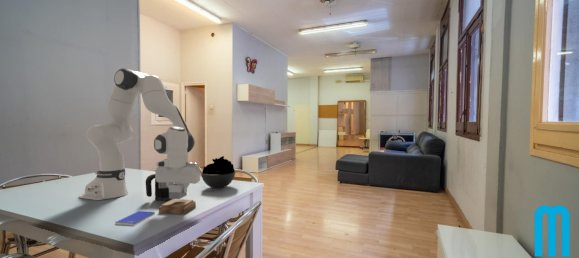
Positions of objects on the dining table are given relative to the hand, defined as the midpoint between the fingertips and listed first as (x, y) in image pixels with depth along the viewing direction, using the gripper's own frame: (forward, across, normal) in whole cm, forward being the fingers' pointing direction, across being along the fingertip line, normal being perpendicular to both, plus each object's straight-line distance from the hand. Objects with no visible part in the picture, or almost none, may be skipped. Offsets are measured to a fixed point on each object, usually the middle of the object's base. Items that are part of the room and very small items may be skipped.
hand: (178, 192), depth 115 cm
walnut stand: (+8, 0, 0) cm, 8 cm away
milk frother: (+8, +14, -13) cm, 21 cm away
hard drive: (+9, +11, +12) cm, 19 cm away
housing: (+2, 0, 0) cm, 2 cm away
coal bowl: (+8, -3, -39) cm, 40 cm away
